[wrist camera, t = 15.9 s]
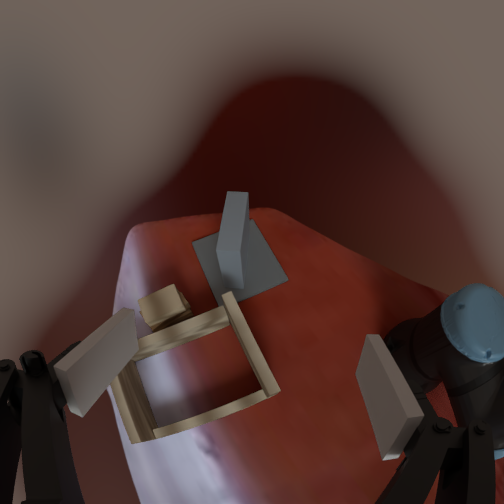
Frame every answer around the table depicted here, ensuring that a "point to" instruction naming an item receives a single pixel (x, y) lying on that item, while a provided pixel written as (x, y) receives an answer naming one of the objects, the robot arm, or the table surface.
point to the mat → (257, 269)
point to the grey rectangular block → (234, 240)
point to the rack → (128, 380)
